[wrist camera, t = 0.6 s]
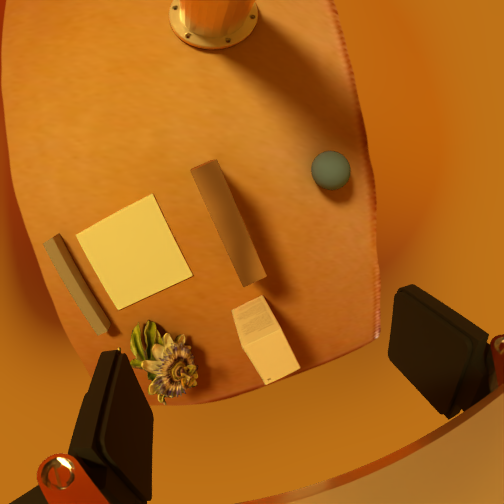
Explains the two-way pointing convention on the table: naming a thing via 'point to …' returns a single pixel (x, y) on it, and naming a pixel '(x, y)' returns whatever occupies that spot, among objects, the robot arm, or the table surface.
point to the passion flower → (164, 362)
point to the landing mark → (134, 253)
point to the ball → (330, 170)
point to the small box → (264, 340)
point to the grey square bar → (76, 284)
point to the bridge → (228, 221)
